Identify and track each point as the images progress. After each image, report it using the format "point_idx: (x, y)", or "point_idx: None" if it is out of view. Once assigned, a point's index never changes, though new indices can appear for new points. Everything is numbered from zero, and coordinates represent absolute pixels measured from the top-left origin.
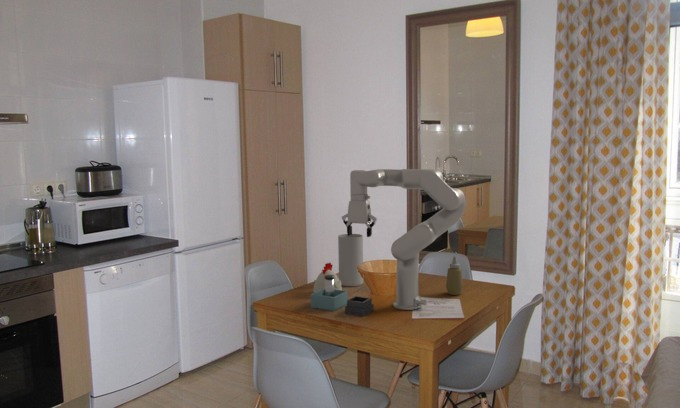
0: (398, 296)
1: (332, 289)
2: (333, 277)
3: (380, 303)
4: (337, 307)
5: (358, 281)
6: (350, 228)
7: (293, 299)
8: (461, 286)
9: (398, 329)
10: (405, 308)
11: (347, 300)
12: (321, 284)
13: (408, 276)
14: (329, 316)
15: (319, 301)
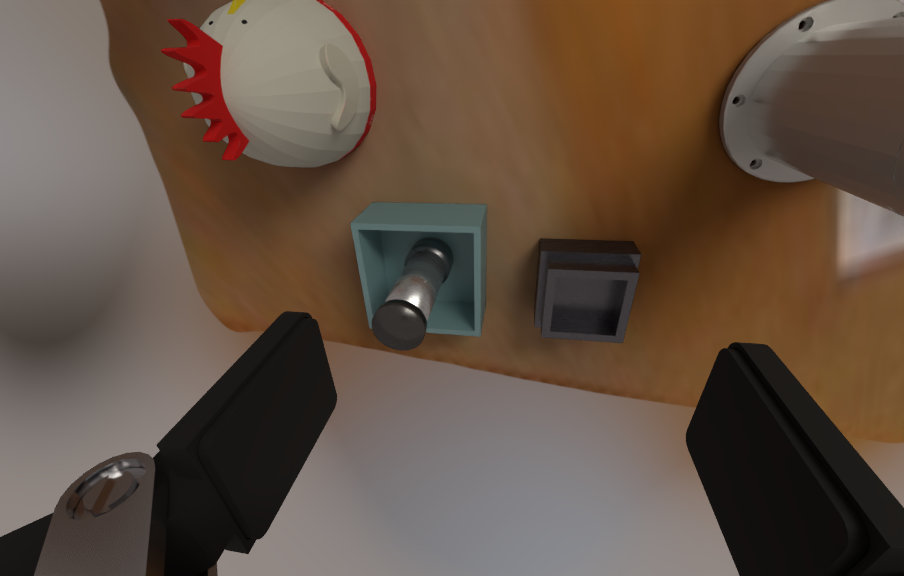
0: (789, 165)
1: (435, 299)
2: (425, 329)
3: (635, 119)
4: (485, 290)
5: None
6: (262, 464)
7: (261, 237)
8: None
9: None
10: (805, 179)
11: (543, 336)
12: (288, 165)
13: None
14: (498, 353)
15: None
